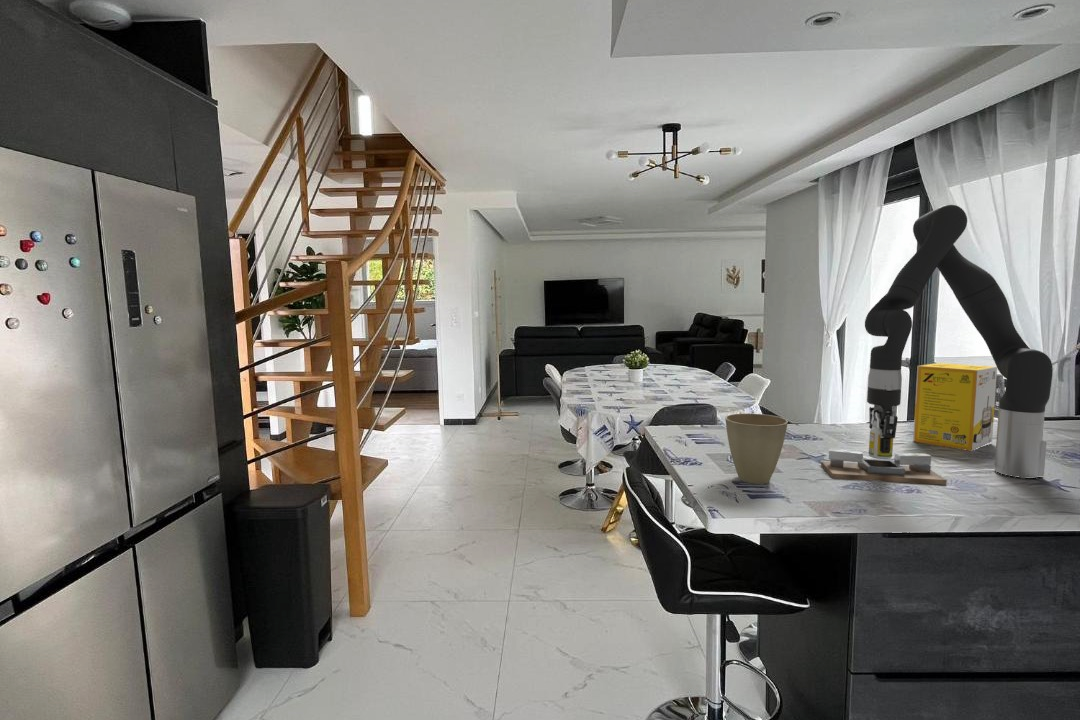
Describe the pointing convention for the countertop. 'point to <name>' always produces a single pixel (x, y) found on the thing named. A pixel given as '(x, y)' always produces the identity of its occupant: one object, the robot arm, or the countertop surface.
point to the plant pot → (755, 444)
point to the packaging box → (955, 405)
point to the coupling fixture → (882, 462)
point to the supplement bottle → (878, 444)
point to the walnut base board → (858, 473)
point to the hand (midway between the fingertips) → (880, 449)
